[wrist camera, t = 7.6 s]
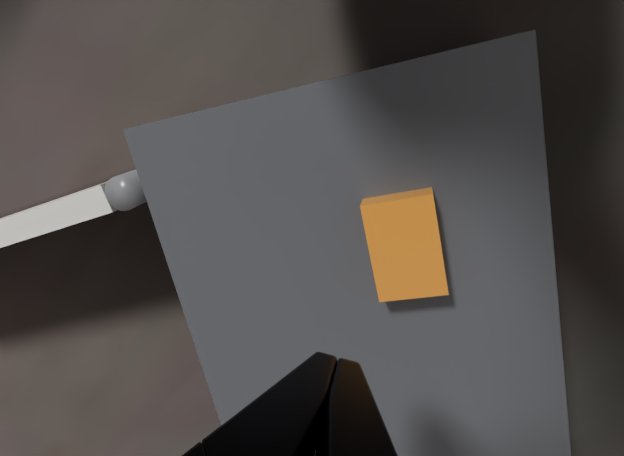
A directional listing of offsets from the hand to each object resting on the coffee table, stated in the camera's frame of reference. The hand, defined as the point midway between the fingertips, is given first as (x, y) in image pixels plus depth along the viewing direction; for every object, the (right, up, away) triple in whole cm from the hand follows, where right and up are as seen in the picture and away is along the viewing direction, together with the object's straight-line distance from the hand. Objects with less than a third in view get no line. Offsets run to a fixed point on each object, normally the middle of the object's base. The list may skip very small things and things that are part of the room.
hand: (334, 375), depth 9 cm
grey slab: (+3, -1, +12) cm, 13 cm away
